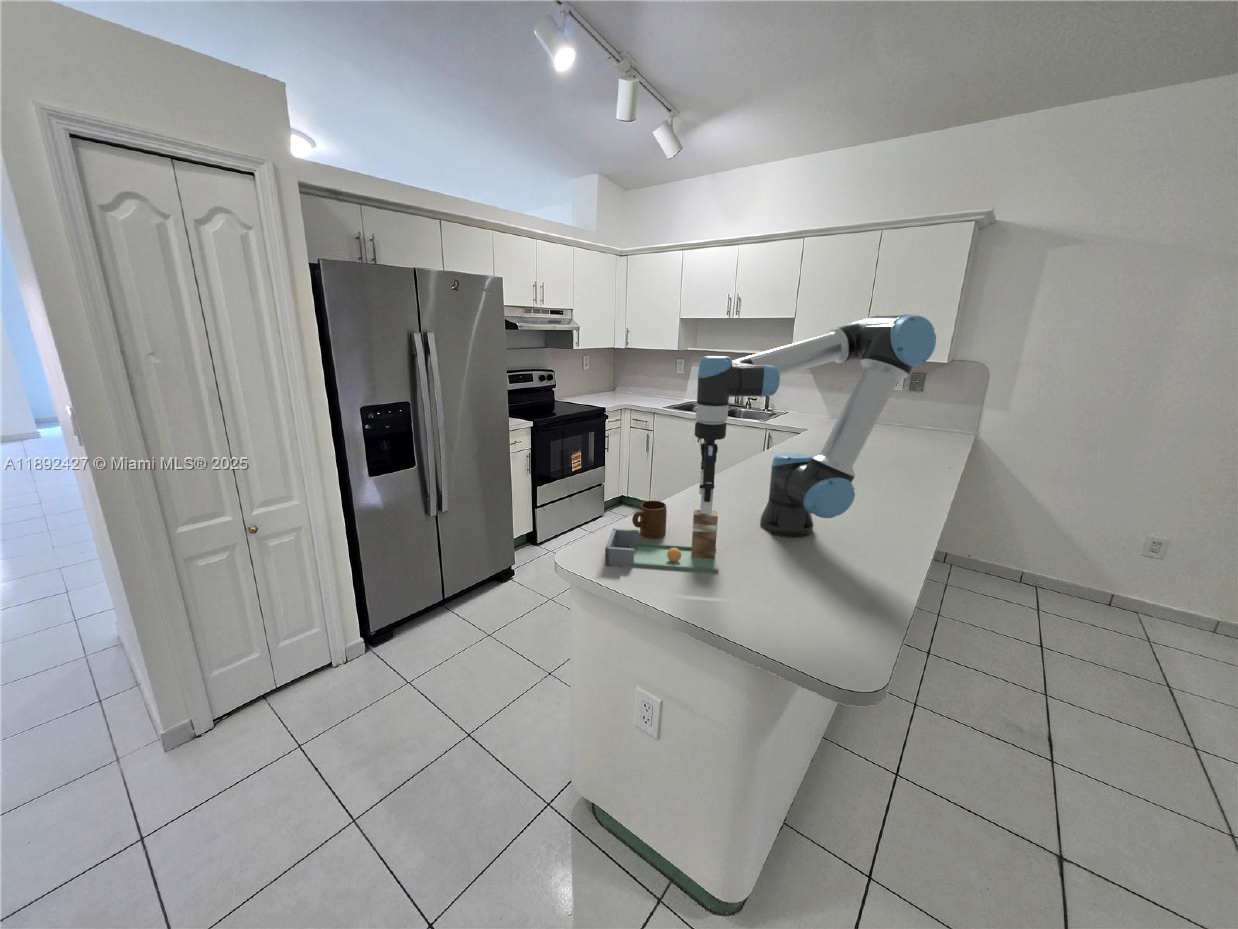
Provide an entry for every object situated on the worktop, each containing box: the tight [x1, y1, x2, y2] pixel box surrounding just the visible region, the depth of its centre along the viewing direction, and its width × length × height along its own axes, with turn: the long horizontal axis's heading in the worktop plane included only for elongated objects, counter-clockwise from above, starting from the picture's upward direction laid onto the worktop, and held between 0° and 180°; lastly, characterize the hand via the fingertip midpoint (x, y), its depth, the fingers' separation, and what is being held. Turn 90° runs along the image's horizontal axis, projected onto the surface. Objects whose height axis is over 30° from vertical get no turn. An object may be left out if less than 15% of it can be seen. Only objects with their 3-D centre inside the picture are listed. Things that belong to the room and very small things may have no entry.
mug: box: [631, 500, 668, 539], centre depth 133 cm, size 12×8×9 cm, turn 133°
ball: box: [667, 548, 681, 562], centre depth 119 cm, size 4×4×4 cm
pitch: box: [604, 528, 719, 574], centre depth 121 cm, size 28×12×5 cm, turn 81°
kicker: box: [691, 509, 719, 559], centre depth 121 cm, size 6×4×12 cm, turn 81°
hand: (705, 503), depth 118 cm, fingers open, 13 cm apart
